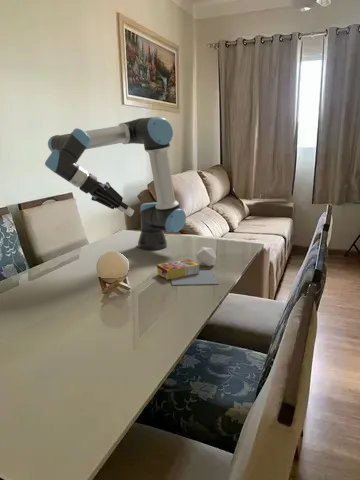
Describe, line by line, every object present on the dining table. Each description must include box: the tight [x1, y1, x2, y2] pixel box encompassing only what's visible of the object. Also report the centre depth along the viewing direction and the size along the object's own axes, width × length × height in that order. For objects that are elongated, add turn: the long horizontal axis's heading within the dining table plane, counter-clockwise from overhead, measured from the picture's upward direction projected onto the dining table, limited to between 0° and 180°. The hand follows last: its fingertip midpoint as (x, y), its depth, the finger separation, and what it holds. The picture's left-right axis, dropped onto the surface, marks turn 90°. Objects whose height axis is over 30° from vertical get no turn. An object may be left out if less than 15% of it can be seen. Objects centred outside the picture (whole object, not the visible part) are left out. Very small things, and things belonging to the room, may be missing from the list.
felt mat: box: [170, 269, 219, 286], centre depth 156 cm, size 16×18×1 cm
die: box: [195, 246, 217, 267], centre depth 172 cm, size 8×9×10 cm
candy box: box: [156, 258, 200, 280], centre depth 160 cm, size 9×4×15 cm
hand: (132, 213), depth 161 cm, fingers closed
